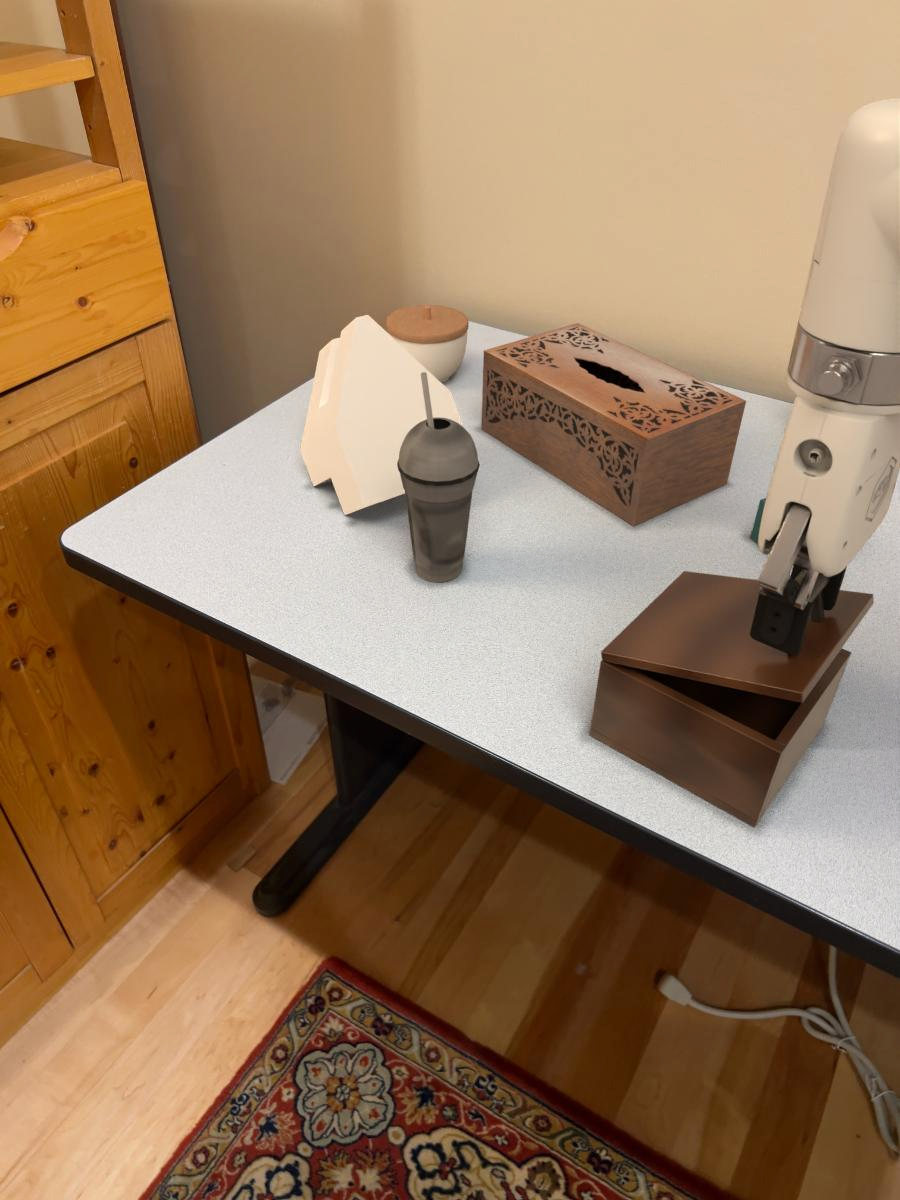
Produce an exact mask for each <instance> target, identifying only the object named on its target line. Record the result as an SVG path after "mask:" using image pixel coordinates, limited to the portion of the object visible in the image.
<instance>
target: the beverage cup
mask: <svg viewBox="0 0 900 1200" xmlns="http://www.w3.org/2000/svg"><path fill="white" fill-rule="evenodd" d="M421 381H422V388H423V395H424V402H425V409H426V416H427V419H426V420H424V421H422V422H419V423H418V424H417V425H415V426H414V427H413V428H412V429H411V430H410V431H409V432H408V433H407V435H406V437H405V439H404V441H403V443H402V446H401V448H400V452H399V459H398V463H397V466H398V471H399V472H400V476H401V481H402V485H403V488H404V490H405V494H404V495H405V504H406V510H407V511H406V513H407V519H408V527H409V534H410V543H411V549H412V550H411V552H412V557H413V558H412V559H413V561H414V566H415V567H414V568H415V573H416V575H418V577H419V578H421V579H422V580H424V581H426V582H430V583H437V584H439V583H447V582H450V581H453V580H456V579H457V578H458V577H459V576H460V575H461V574H462V571H463V563H464V559H465V555H466V546H467V538H468V529H469V523H470V522H469V521H470V514H471V505H472V497H473V491H474V487H475V483H476V480H477V477H478V476H477V475H478V472H479V469H480V466H481V465H480V462H479V456H478V451H477V447H476V444H475V441H474V439H473V437H472V436H471V433H469V431H467V429H466V428H465V427H464V425H463V426H461V425H460V424H459V423H457V422H455V421H453V420H450V419H447V418H440V417H436V418H433V415H432V408H431V401H430V394H429V387H428V379H427V373H426V372H422V373H421Z"/></svg>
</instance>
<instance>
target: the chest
mask: <svg viewBox="0 0 900 1200" xmlns="http://www.w3.org/2000/svg"><path fill="white" fill-rule="evenodd" d="M851 655H852V652H851V651H849V650H847V649H845V648H843V647H842V648H841V650H840V651H839V653H838V654H837V655H836V657H835V658H834V660H833V661H832V662H831V664H830V665H829V667H828V668H827V669H826V671H825V672H824V674H823V675H822V676H821V678H820V679H819V681H818V682H817V683H816V685H815V686H814V688H813V689H812V690H811V692H810V693H809V695H808V696H807V697H806V699H805V700H804V702H803V703H801V702H796V701H791V700H786V699H782V698H777V697H772V696H767V695H763V694H758V693H753V692H748V691H744V690H739V689H734V688H729V687H725V686H720V685H715V684H710V683H706V682H701V681H696V680H691V679H687V678H682V677H677V676H673V675H668V674H663V673H658V672H654V671H649V670H644V669H639V668H635V667H630V666H625V665H620V664H616V663H611V662H606V661H603V660H602V659H601V661H600V665H599V669H598V670H599V671H598V677H597V683H596V688H595V689H596V690H595V695H594V703H593V710H592V715H591V722H590V728H589V729H590V730H589V736H590V737H592V738H594V739H596V740H597V741H599V742H600V743H602V744H604V745H606V746H608V747H610V748H611V749H613V750H616V751H617V752H619V753H621V754H622V755H624V756H625V757H628V758H630V759H631V760H633V761H635V762H637V763H638V764H640V765H642V766H643V767H645V768H647V769H649V770H651V771H652V772H654V773H657V775H659V776H662V777H663V778H664V779H667V780H669V781H670V782H672V783H674V784H675V785H678V786H679V787H681V788H682V789H685V790H686V791H689V792H690V793H692V794H694V795H695V796H697V797H698V798H700V799H703V800H705V801H706V802H708V803H710V804H711V805H713V806H715V807H716V808H718V809H720V810H722V811H724V812H726V813H727V814H729V815H731V816H733V817H734V818H736V819H738V820H740V821H742V822H743V823H745V824H747V825H748V826H751V827H752V828H756V827H757V825H758V824H759V822H760V821H761V819H762V818H763V816H764V815H765V813H766V812H767V810H768V809H769V807H770V806H771V805H772V803H773V801H774V800H775V798H776V797H777V795H778V793H779V792H780V791H781V790H782V788H783V787H784V785H785V783H786V782H787V780H788V779H789V778H790V776H791V774H792V773H793V771H794V770H795V768H797V765H798V764H799V763H800V761H801V759H802V758H803V756H804V755H805V753H806V752H807V751H808V749H809V748H810V746H811V744H812V743H813V742H814V740H815V739H816V737H817V736H818V735H819V732H820V731H821V730H822V728H823V727H824V724H825V722H826V720H827V717H828V714H829V711H830V709H831V706H832V704H833V701H834V699H835V696H836V695H837V694H836V693H837V691H838V689H839V686H840V683H841V681H842V678H843V676H844V673H845V671H846V668H847V665H848V663H849V661H850V658H851Z"/></svg>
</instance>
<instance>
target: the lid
mask: <svg viewBox="0 0 900 1200" xmlns="http://www.w3.org/2000/svg"><path fill="white" fill-rule="evenodd" d="M805 571H806V569H803V570H802V571H801V572H800V573H799V574H798V575H797V577H796V578H795V580H797V581H798V583H799V585H801V582H802V579H803V576H804V574H805ZM830 580H831V577H826V576H824V575H823V574H822V573H819V574H818V576H817V579H816V582H815V585H814V587H813V590H812V593H811V596H810V598H809V602H811V603H813V604H814V605H813V608H812V612H811V615H810V618H809V622H808V625H807V629H806V632H805V636H804V639H803V643H802V646H801V649H800V651H799V652H798V653H797V654H796V655H790V654H787V653H785V652H782V651H780V650H778V649H775V648H773V647H770V646H768V645H766V644H763V643H761V642H758V641H756V640H754V639H752V638H751V636H750V630H751V626H752V622H753V618H754V614H755V609H756V605H757V601H758V597H759V589H760V586H759V585H758V584H757V582H758V579H754V578H745V577H736V576H729V575H720V574H712V573H703V572H695V571H688V570H684V571H683V572H682V573H680V574H679V575H678V577H676V578H675V579H674V580H673V581H672V582H671V583H670V584H669V585H668V586H667V587H666V588H665V589H664V590H663V591H662V592H661V593H659V595H658V596H657V597H656V598H655V599H653V601H652V602H650V604H649V605H647V607H645V608H644V609H643V610H642V611H641V612H640V613H639V614H638V615H637V616H636V617H635V618H634V619H633V620H632V621H631V622H630V623H629V624H628V625H627V626H626V627H625V628H624V629H623V630H622V631H620V633H619V634H618V635H616V636H615V638H613V640H611V642H609V643H608V644H607V645H606V646H605V647H604V648H603V649H602V650H601V651H600V655H601V661H602V660H603V661H606V662H611V663H616V664H620V665H625V666H630V667H635V668H639V669H644V670H649V671H654V672H658V673H663V674H668V675H673V676H677V677H682V678H687V679H691V680H696V681H701V682H706V683H710V684H715V685H720V686H725V687H729V688H734V689H739V690H744V691H748V692H753V693H758V694H763V695H767V696H772V697H777V698H782V699H786V700H791V701H796V702H801V703H803V702H804V700H805V699H806V697H807V696H808V695H809V693H810V692H811V690H812V689H813V688H814V686H815V685H816V683H817V682H818V681H819V679H820V678H821V676H822V675H823V674H824V672H825V671H826V669H827V668H828V667H829V665H830V664H831V662H832V661H833V660H834V658H835V657H836V655H837V654H838V653H839V651H840V650H841V648H842V649H843V647H844V646H845V644H846V643H847V641H848V640H849V639H850V637H851V636H852V634H853V633H854V632H855V630H856V629H857V627H858V626H859V624H860V623H861V622H862V620H863V619H864V618H865V616H866V615H867V614H868V612H869V611H870V609H871V608H872V606H873V605H874V594H873V593H867V592H859V591H851V590H844V589H840V591H839V594H838V598H837V601H836V604H835V606H834V607H833V608H832V609H831V610H828V611H827V610H824V603H823V589H824V588H825V586H826V585H827V584H828V583H829V581H830Z"/></svg>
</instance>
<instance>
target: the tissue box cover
mask: <svg viewBox="0 0 900 1200" xmlns="http://www.w3.org/2000/svg"><path fill="white" fill-rule="evenodd" d="M482 365H483V366H482V391H481V392H482V394H481V396H482V397H481V425H480V426H481V429H480V430H481V431H483V432H485V433H486V434H488V435H489V436H491V437H493V438H494V439H495V440H497V441H499V442H500V443H502V444H503V445H505V446H507V447H508V448H510V449H511V450H512V451H514V452H515V453H517V454H519V455H520V456H522V457H524V458H525V459H527V460H529V461H530V462H532V463H533V464H534V465H536V466H538V467H540V468H541V469H542V470H545V471H546V472H547V473H548V474H550V475H552V476H553V477H555V478H557V479H558V480H559V481H561V482H563V483H564V484H566V485H568V486H569V487H571V488H572V489H574V490H576V491H577V492H579V493H580V494H582V495H583V496H585V497H586V498H588V499H590V500H591V501H593V502H594V503H596V504H597V505H599V506H601V507H602V508H603V509H605V510H607V511H608V512H610V513H612V514H613V515H614V516H616V517H617V518H619V519H621V520H622V521H624V522H625V523H627V524H629V525H630V526H632V527H635V526H638V525H640V524H642V523H644V522H647V521H649V520H652V519H653V518H655V517H657V516H660V515H662V514H664V513H666V512H668V511H671V510H673V509H675V508H677V507H679V506H682V505H684V504H686V503H688V502H691V501H692V500H695V499H697V498H699V497H702V496H704V495H706V494H708V493H711V492H713V491H715V490H717V489H719V488H721V487H724V486H725V485H727V484H728V481H729V477H730V474H731V473H730V472H731V468H732V463H733V460H734V457H735V451H736V446H737V443H738V439H739V434H740V431H741V425H742V421H743V417H744V414H745V408H746V404H747V400H746V399H744V398H742V397H740V396H737V395H735V394H733V393H731V392H728V391H726V390H724V389H721V388H720V387H717V386H715V385H713V384H711V383H709V382H707V381H704V380H702V379H700V378H698V377H695V376H694V375H692V374H689V373H688V372H685V371H683V370H680V369H678V368H676V367H674V366H672V365H670V364H668V363H665V362H664V361H661V360H659V359H656V358H655V357H653V356H651V355H648V354H645V353H644V352H641V350H640V351H639V350H637V349H635V348H633V347H630V346H629V345H626V344H625V343H622V342H619V341H618V340H615V339H613V338H611V337H609V336H607V335H605V334H603V333H600V332H599V331H596V330H594V329H592V328H589V327H588V326H585V325H583V324H581V323H578V322H576V323H573V324H570V325H567V326H563V327H559V328H556V329H552V330H549V331H546V332H543V333H539V334H535V335H532V336H528V337H526V338H525V337H524V338H522V339H519V340H515V341H511V342H508V343H505V344H501V345H497V346H495V347H491V348H488V349H484V350H483V363H482Z"/></svg>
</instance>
